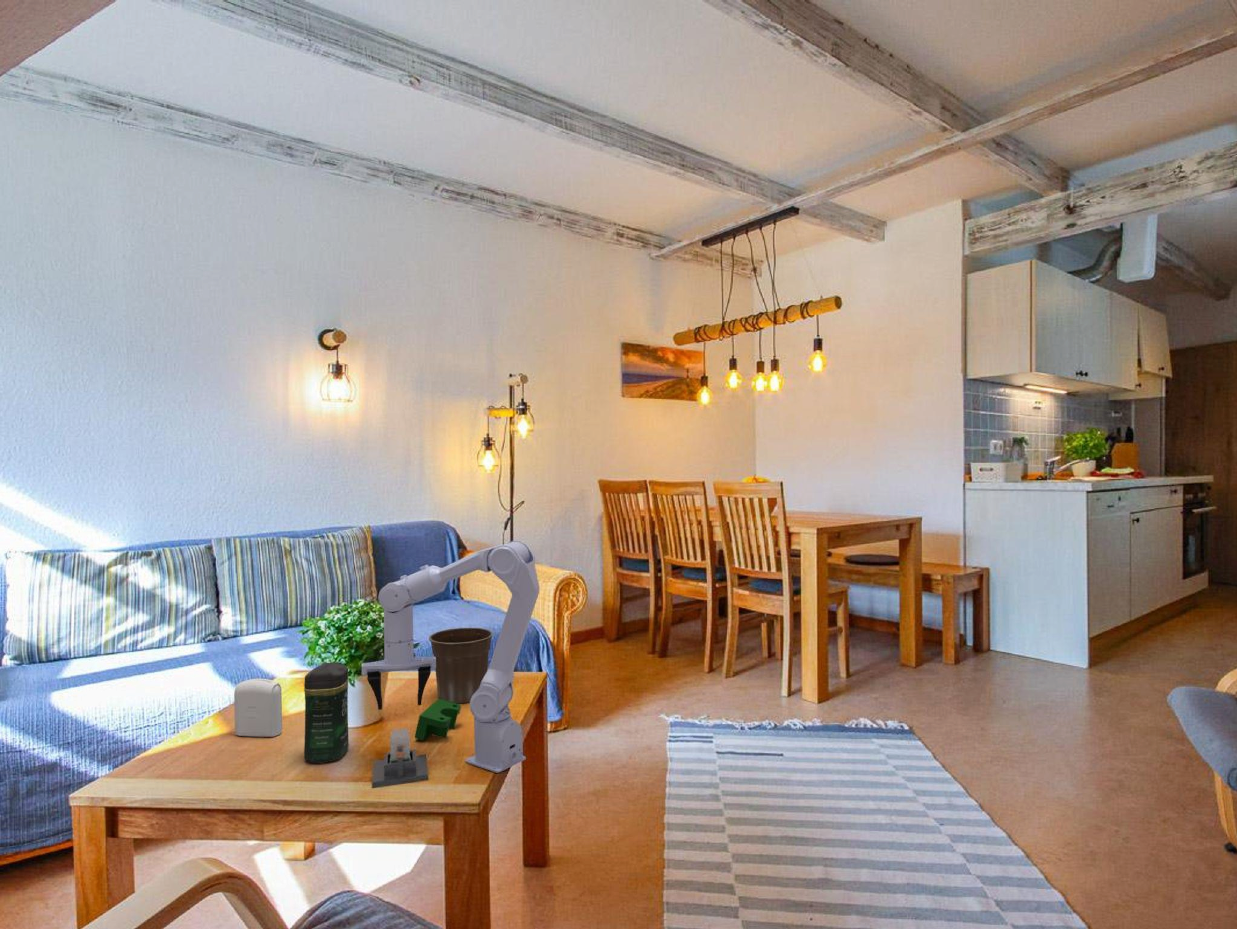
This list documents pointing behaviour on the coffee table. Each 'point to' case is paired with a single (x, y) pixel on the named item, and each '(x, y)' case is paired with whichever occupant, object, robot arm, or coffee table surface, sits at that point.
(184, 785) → the coffee table surface
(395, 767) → the grey slotted holder
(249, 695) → the photo printer
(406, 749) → the pull-out drawer
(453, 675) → the plant pot
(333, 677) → the coffee jar
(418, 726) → the clamp
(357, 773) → the coffee table surface
